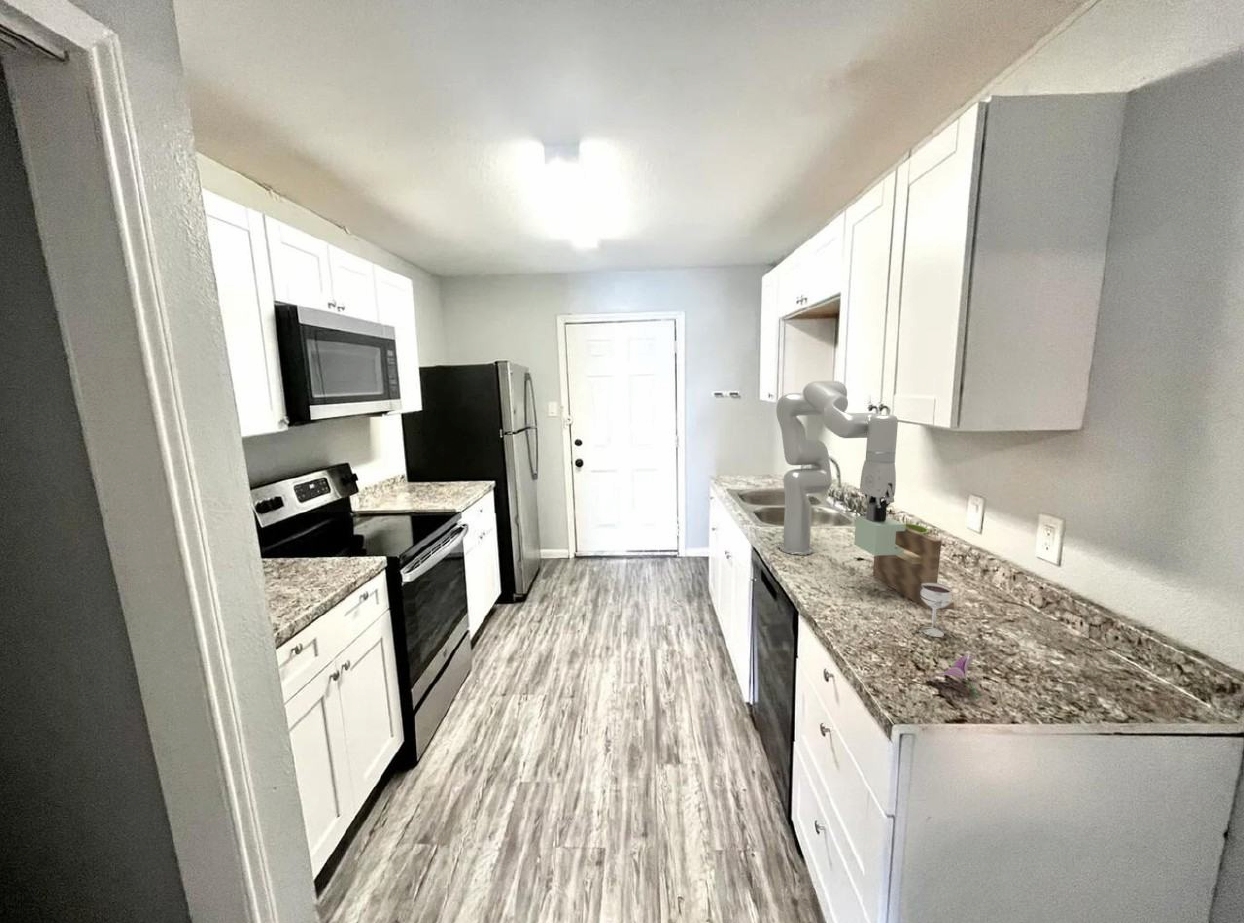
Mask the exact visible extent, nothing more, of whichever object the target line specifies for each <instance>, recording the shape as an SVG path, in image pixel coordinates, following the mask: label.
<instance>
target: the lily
mask: <svg viewBox="0 0 1244 923" xmlns="http://www.w3.org/2000/svg"><path fill="white" fill-rule="evenodd" d="M982 652H984V650H981V651H978V652H976V653H975V654H969V655H968V653H967V654H964V655H963V656H961V657H959V658H957V659H955V660H953V661H952V659H947V660H945V661H946V662H948V663H950V665H951V666H950V668H948V669H946V670H945V671H944V672H938V673H936V674H934V675H932V676H930V677H929V678H928V679H926V680H925V682H928V681H929V680H930V679H932V678H934V677H936V676H939V677H940V676H942V675H945V676H951V677H956V678H961V679H964V680H966V682H967V683H968V685H969V687H970V688H971V690H972V692H973V694H974V697H975V698H976V699H977V698H978V699H979V697H978V695H977V693H976V691H975V689H974V687H973V685H972V684H971V682H970V681H969V679H968V677H967V673H968V672H967V670H968V666H969V663H970V662H971V660H972V659H973V658H974V657H975V656H978V654H980V653H982Z"/></svg>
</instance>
